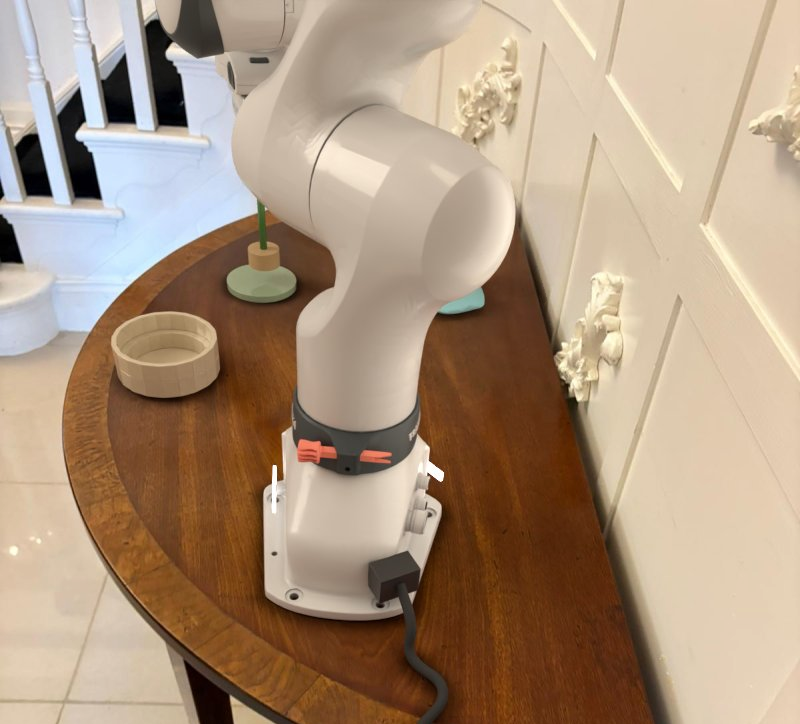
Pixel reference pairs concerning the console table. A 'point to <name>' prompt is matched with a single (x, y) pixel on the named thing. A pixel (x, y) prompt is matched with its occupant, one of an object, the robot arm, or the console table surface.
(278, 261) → the tulip
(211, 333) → the bowl
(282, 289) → the coaster
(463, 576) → the console table surface
